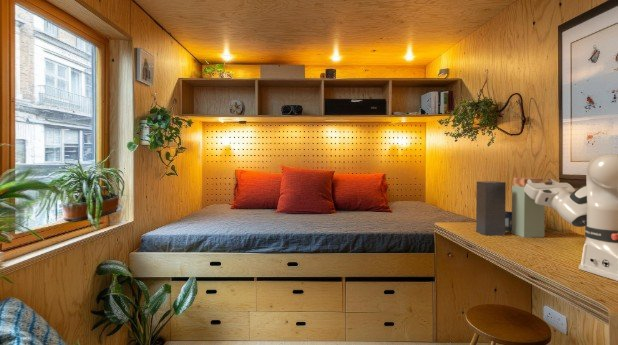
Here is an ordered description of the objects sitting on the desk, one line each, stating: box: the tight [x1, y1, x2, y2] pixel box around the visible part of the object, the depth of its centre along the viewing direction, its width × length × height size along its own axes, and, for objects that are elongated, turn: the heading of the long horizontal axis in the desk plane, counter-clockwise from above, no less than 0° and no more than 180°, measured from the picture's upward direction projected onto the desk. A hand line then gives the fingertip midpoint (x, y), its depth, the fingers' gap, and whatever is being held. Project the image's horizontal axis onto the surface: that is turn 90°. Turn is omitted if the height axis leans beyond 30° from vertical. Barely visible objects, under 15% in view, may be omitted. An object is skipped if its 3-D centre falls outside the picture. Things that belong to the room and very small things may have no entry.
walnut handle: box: [513, 177, 552, 187], centre depth 167 cm, size 18×9×4 cm, turn 3°
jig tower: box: [475, 180, 507, 237], centre depth 177 cm, size 8×10×26 cm
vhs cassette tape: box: [505, 210, 512, 233], centre depth 186 cm, size 18×3×10 cm, turn 45°
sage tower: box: [511, 185, 546, 239], centre depth 172 cm, size 10×10×24 cm
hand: (538, 180), depth 164 cm, fingers open, 8 cm apart
